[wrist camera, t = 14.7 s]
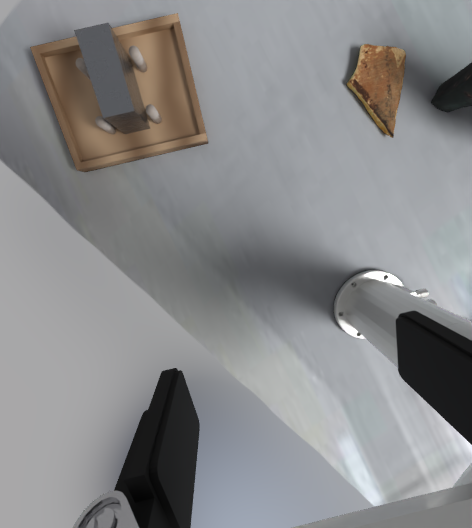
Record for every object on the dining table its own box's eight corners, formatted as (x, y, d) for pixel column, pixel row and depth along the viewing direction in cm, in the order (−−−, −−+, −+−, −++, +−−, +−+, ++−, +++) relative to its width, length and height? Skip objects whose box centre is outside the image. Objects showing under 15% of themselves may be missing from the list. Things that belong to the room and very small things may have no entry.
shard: (386, 140, 35) (394, 137, 33) (337, 137, 35) (343, 134, 33) (400, 55, 33) (410, 46, 31) (348, 51, 32) (355, 42, 30)
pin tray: (180, 25, 30) (174, -3, 26) (208, 143, 33) (206, 134, 29) (42, 57, 29) (14, 33, 25) (85, 172, 33) (66, 167, 29)
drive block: (130, 59, 29) (108, 22, 23) (150, 128, 31) (134, 110, 25) (103, 65, 29) (74, 30, 23) (125, 134, 31) (103, 118, 25)
